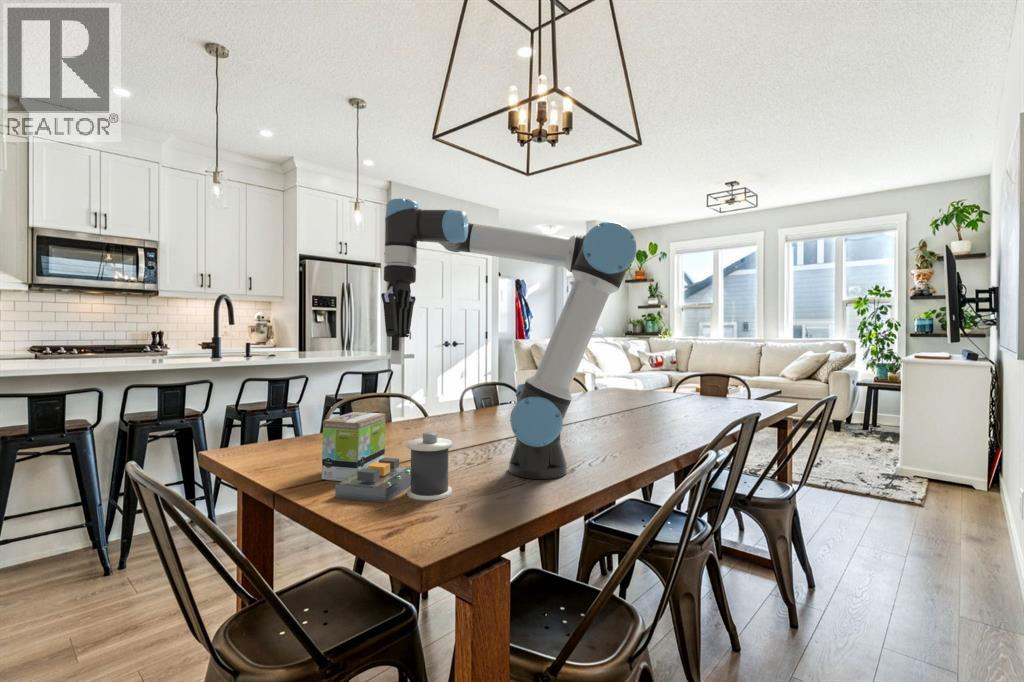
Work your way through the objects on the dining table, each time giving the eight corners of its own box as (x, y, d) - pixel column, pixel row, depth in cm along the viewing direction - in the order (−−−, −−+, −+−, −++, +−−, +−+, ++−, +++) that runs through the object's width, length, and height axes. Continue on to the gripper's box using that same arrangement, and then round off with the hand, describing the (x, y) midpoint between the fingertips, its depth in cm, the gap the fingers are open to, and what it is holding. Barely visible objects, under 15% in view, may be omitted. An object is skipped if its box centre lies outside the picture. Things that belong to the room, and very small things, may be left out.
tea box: (358, 483, 124) (358, 422, 124) (320, 480, 126) (320, 420, 126) (386, 466, 139) (386, 412, 138) (351, 464, 141) (351, 410, 140)
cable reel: (457, 488, 121) (458, 430, 120) (442, 502, 111) (442, 439, 111) (417, 484, 123) (418, 428, 123) (399, 498, 113) (399, 436, 113)
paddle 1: (379, 478, 116) (379, 469, 116) (373, 481, 113) (373, 472, 113) (363, 477, 117) (363, 468, 117) (357, 480, 114) (357, 471, 114)
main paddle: (390, 472, 121) (390, 463, 121) (383, 475, 118) (383, 467, 118) (374, 470, 122) (374, 462, 122) (367, 474, 119) (367, 465, 119)
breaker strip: (418, 480, 127) (418, 467, 127) (385, 503, 110) (385, 487, 110) (373, 476, 130) (373, 463, 129) (335, 498, 113) (335, 483, 113)
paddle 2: (399, 466, 126) (399, 458, 125) (394, 469, 123) (394, 461, 123) (383, 465, 126) (384, 457, 126) (378, 468, 124) (378, 460, 124)
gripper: (399, 268, 131) (396, 361, 132) (371, 262, 118) (368, 365, 119) (426, 269, 129) (423, 363, 130) (401, 262, 116) (398, 366, 117)
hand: (397, 364), depth 124 cm, fingers closed
